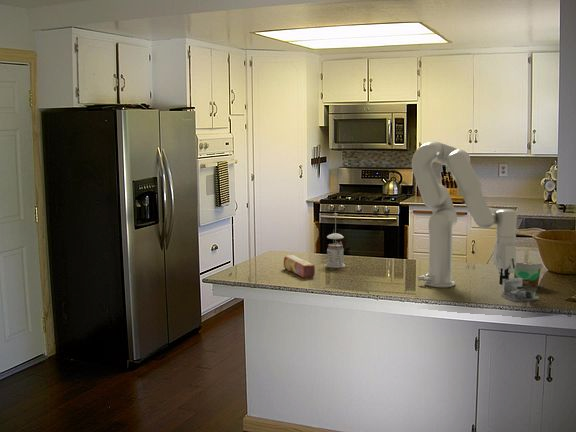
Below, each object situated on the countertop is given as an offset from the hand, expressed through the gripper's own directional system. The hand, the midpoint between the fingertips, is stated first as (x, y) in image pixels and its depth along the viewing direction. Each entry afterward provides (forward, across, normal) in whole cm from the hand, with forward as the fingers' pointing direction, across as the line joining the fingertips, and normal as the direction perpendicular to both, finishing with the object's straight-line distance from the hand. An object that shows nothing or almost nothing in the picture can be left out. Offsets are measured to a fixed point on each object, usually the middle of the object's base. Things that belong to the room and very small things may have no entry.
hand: (503, 284), depth 289 cm
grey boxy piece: (+1, +10, +1) cm, 10 cm away
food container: (+3, -4, +13) cm, 14 cm away
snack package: (+3, -53, -71) cm, 89 cm away
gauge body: (+3, +11, 0) cm, 12 cm away
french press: (+3, -63, -50) cm, 80 cm away
